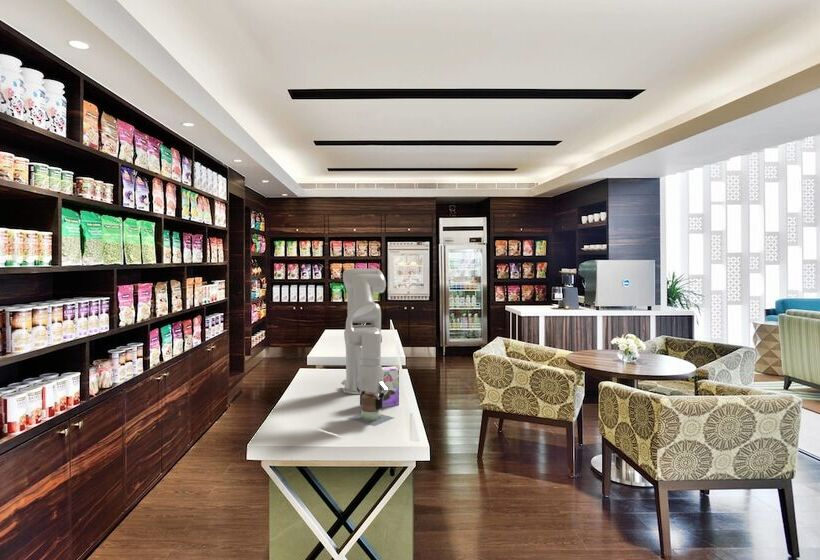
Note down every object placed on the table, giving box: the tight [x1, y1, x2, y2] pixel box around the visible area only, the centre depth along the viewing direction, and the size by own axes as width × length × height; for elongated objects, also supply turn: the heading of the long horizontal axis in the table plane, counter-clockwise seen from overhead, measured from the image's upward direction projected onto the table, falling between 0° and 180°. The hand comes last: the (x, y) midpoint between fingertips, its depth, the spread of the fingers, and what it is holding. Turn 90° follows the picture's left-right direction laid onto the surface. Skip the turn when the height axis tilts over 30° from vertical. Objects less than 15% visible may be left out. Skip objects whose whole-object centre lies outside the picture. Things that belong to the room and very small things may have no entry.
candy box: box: [382, 366, 400, 408], centre depth 200 cm, size 14×6×16 cm, turn 105°
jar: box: [360, 408, 382, 421], centre depth 183 cm, size 8×8×7 cm
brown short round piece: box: [360, 392, 382, 412], centre depth 183 cm, size 7×7×6 cm
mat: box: [347, 413, 395, 427], centre depth 183 cm, size 14×12×1 cm
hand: (371, 406), depth 183 cm, fingers closed on brown short round piece, 7 cm apart
